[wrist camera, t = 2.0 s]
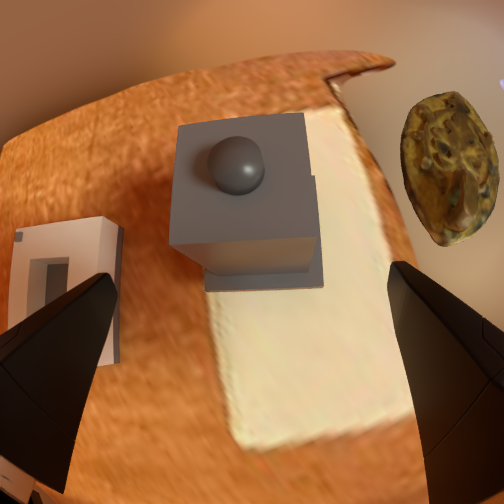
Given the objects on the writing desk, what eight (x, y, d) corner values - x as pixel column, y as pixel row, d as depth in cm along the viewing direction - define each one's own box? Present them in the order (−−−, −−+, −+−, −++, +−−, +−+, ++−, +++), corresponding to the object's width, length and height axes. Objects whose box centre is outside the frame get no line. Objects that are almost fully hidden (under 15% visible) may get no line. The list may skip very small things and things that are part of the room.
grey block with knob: (319, 291, 19) (348, 253, 9) (216, 295, 20) (133, 263, 9) (312, 193, 21) (322, 80, 10) (217, 200, 22) (154, 100, 11)
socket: (119, 362, 20) (93, 366, 17) (31, 347, 21) (5, 347, 18) (123, 228, 22) (100, 214, 19) (38, 238, 23) (13, 228, 20)
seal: (402, 88, 23) (385, 234, 21) (409, 52, 19) (398, 208, 16) (489, 116, 21) (493, 266, 18) (505, 85, 16) (524, 249, 13)
